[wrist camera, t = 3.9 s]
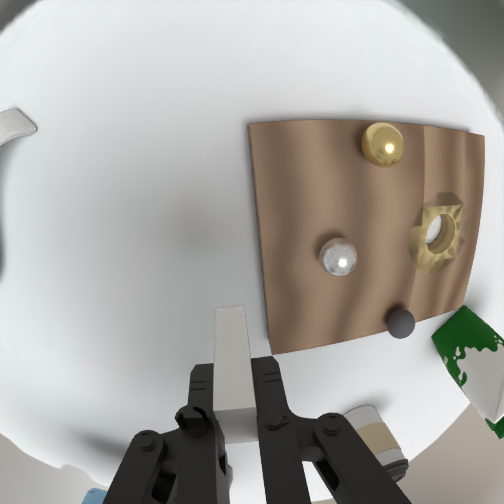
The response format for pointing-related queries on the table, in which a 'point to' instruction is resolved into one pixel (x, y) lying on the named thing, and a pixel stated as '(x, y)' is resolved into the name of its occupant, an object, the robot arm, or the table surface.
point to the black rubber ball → (401, 323)
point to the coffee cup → (378, 440)
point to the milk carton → (475, 364)
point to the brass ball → (383, 145)
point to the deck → (361, 226)
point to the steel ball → (338, 257)
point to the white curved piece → (14, 125)
